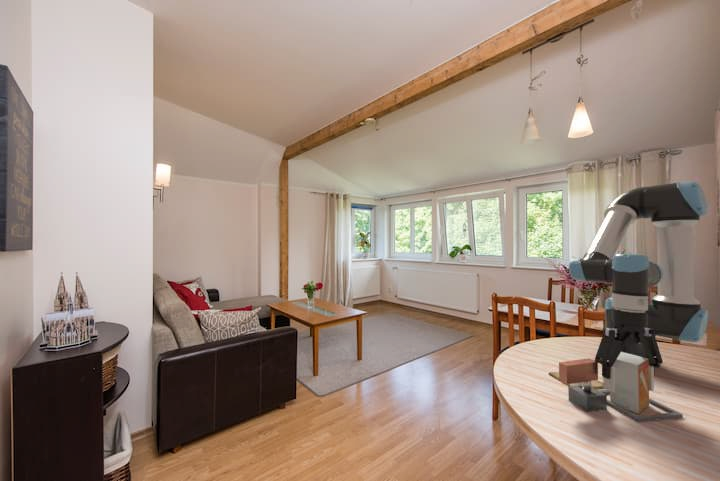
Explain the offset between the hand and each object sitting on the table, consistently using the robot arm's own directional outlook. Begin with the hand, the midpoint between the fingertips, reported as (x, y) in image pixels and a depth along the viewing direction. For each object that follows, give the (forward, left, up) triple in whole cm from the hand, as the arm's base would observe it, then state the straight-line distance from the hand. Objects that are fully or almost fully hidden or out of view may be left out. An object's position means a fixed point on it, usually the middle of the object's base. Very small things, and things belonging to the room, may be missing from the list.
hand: (628, 389), depth 82 cm
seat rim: (-1, 0, -4) cm, 5 cm away
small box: (-1, 0, -5) cm, 5 cm away
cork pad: (+2, -15, -4) cm, 16 cm away
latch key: (+13, -2, 0) cm, 13 cm away
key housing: (+11, -2, -4) cm, 12 cm away
